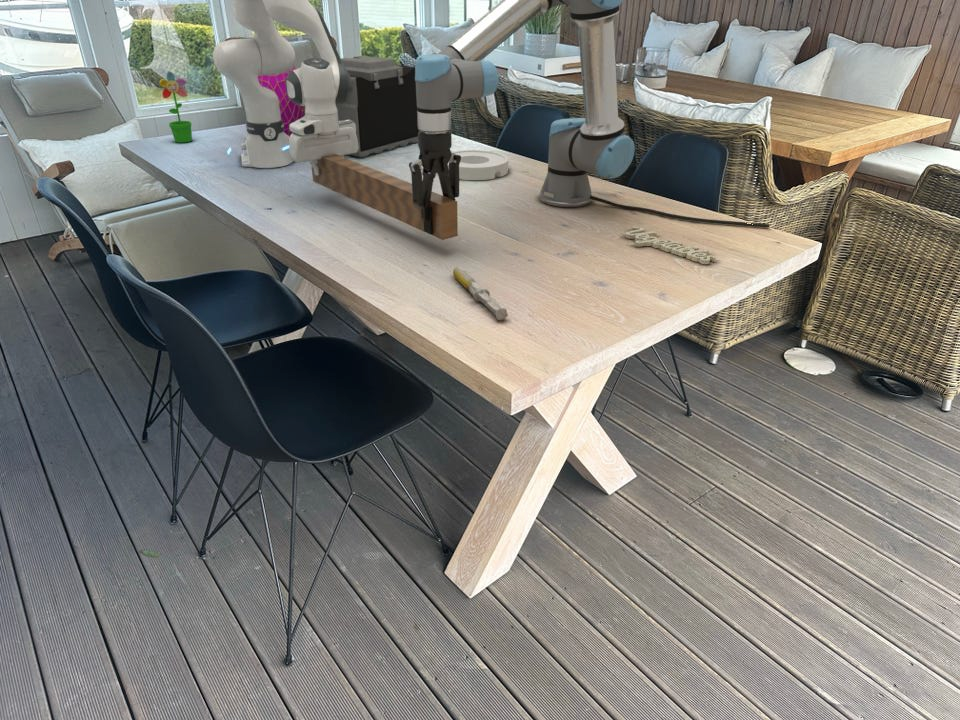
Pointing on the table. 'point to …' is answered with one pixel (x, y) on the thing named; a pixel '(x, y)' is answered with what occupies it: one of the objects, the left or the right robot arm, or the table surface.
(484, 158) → the ashtray
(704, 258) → the decorative sign
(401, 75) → the cooler box
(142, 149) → the table surface
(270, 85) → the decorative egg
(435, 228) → the post
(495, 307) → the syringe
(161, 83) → the potted flower
